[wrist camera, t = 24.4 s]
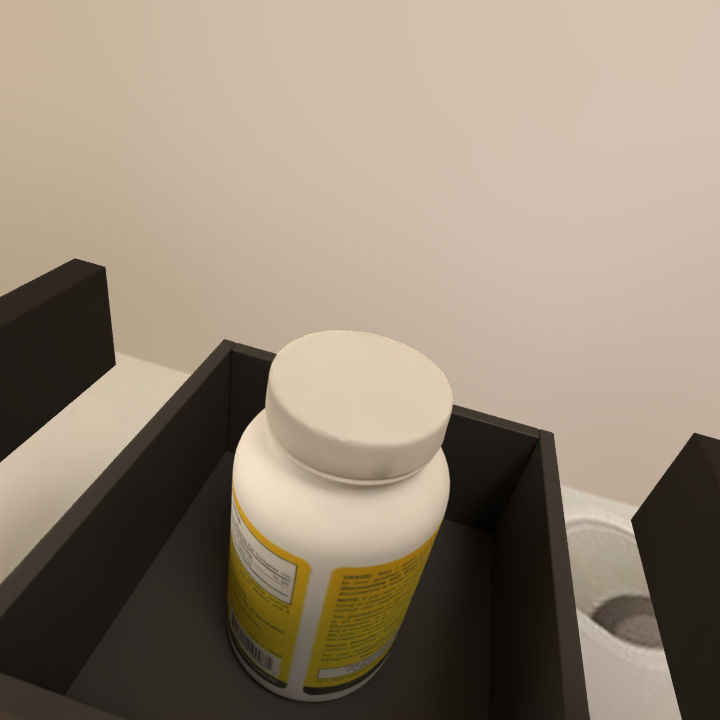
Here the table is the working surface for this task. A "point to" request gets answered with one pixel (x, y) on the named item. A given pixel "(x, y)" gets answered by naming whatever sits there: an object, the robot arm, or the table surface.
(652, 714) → the table surface
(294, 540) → the pill bottle
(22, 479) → the table surface
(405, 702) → the basket
